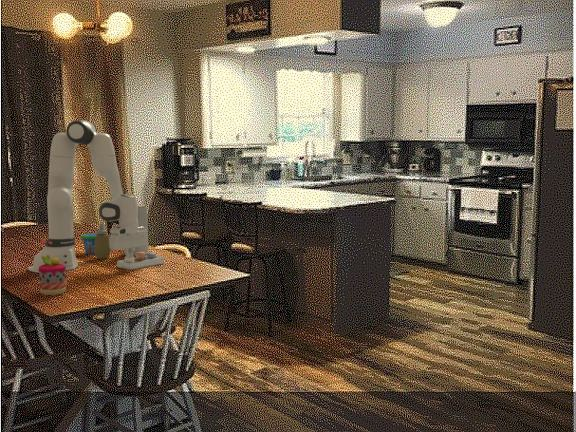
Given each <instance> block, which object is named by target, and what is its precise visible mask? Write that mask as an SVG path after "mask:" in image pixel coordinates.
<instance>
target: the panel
mask: <svg viewBox="0 0 576 432" xmlns="http://www.w3.org/2000/svg"><path fill="white" fill-rule="evenodd" d="M164 262H165V261H164V257H162V256H157V255H156V258H152V259H149V258H147V255H145V259H142V260H138V259H136V257H134V262H130V263H127V262H125V259H120V260H117V261H116V267H117V268H120V269H124V270H128V271H131V270H133V271H134V270H137V269H142V268H147V267H153V266H158V265H163V264H164Z"/></svg>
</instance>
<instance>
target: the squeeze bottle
mask: <svg viewBox="0 0 576 432" xmlns="http://www.w3.org/2000/svg"><path fill="white" fill-rule="evenodd" d="M98 229H99V230H97V231H96V233H97V235H96V236H95V248H94V252H95V254H94V255H95V258H97V259H98V260H105V259H109V257H110V254H111V251H112V250H111V249H110V247H109V238H110V235H109V234H107V230H106V229H105V227H104V224H103V223H100V224H99V227H98Z"/></svg>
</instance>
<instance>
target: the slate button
mask: <svg viewBox="0 0 576 432" xmlns="http://www.w3.org/2000/svg"><path fill="white" fill-rule="evenodd" d="M146 256H147V258H149V259H152V258H156V256H157V253H156V252H148V253H147V255H146Z"/></svg>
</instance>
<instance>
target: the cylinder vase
mask: <svg viewBox="0 0 576 432" xmlns="http://www.w3.org/2000/svg"><path fill="white" fill-rule="evenodd" d="M137 219H138V227H145V228H146V229H147V236H148V237H149V229H148V227H149V226H148V225H149V224H148V223H149V220H148V219H149V218H148V206H141V205H140V206H139V205H138V215H137ZM145 228H144V229H145ZM130 251H131V249H130V248H129V250H128V252H129V253H130ZM136 252H145V256H147V253H149V243H148V244H147V245H145V246H139V247H135V251H134V253H133V256H134V257H136ZM123 254H124V255H125V256H126V253H125V251H124V250H123Z"/></svg>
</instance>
